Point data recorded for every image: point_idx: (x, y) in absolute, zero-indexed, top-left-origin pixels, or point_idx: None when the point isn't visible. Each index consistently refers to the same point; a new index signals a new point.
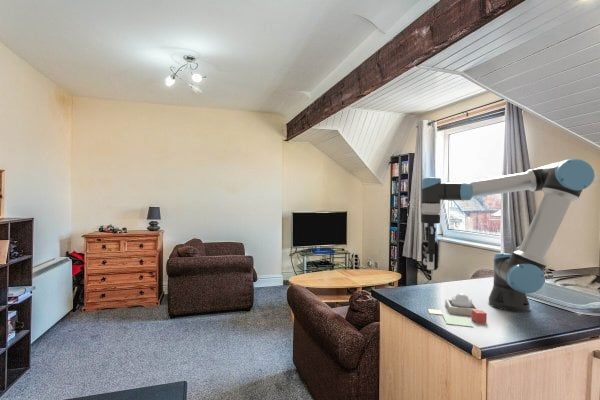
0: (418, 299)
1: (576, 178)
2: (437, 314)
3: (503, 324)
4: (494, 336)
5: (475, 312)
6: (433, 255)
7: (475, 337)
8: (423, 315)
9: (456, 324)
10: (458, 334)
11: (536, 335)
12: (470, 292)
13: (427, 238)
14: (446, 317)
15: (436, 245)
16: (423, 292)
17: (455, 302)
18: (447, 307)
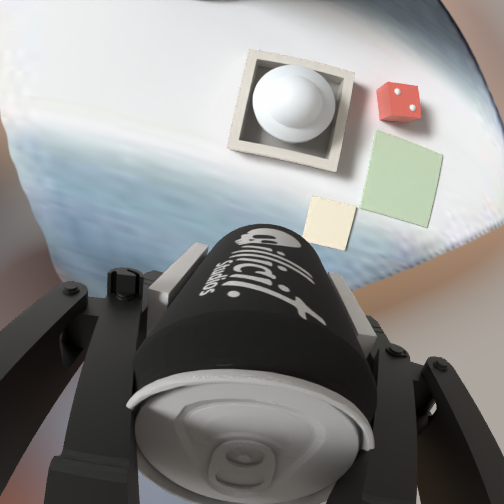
0: (180, 239)
1: None
2: (351, 223)
3: (403, 51)
4: (481, 135)
5: (412, 117)
6: (368, 337)
7: (489, 189)
8: (360, 274)
9: (433, 199)
10: (478, 224)
11: (452, 29)
12: (80, 32)
13: (138, 485)
14: (383, 205)
15: (370, 370)
16: (91, 194)
17: (314, 137)
18: (286, 160)
